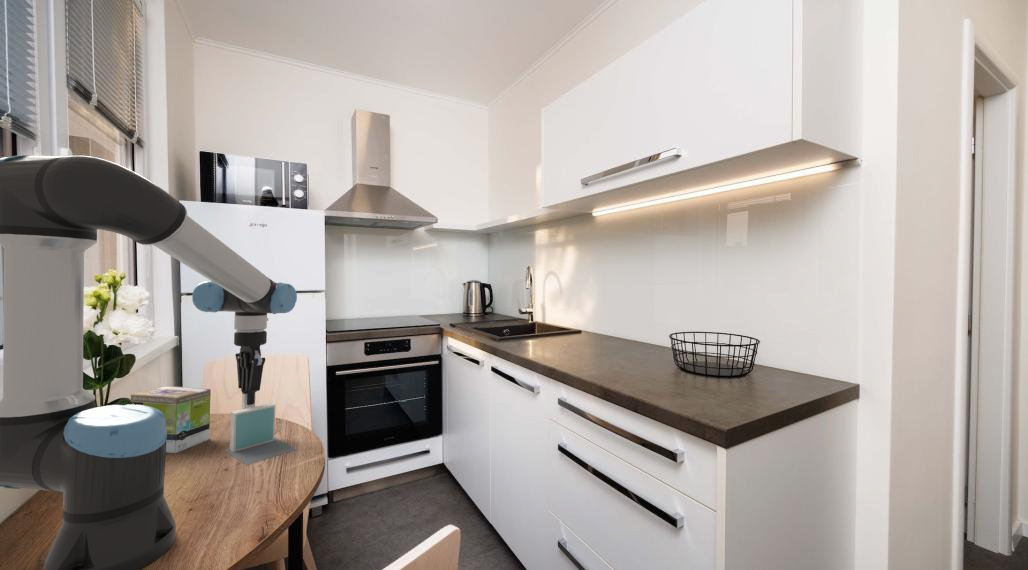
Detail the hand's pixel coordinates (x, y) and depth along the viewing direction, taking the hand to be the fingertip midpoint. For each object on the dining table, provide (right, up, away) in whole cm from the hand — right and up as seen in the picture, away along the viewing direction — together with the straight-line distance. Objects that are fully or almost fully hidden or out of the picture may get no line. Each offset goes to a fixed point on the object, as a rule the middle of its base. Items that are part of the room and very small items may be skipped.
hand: (248, 415), depth 110 cm
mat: (+6, -8, -5) cm, 11 cm away
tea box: (-20, -8, -2) cm, 21 cm away
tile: (+2, -7, -2) cm, 8 cm away
